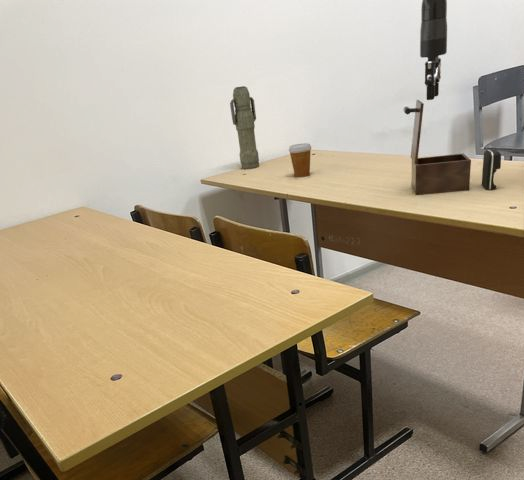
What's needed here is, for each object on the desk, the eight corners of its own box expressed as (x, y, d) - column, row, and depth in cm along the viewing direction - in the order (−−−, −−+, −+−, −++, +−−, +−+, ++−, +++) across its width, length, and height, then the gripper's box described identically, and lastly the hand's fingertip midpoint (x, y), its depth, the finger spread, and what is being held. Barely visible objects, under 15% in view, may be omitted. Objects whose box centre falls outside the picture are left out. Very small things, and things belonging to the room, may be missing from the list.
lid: (418, 100, 170) (403, 100, 171) (423, 103, 160) (406, 103, 161) (412, 157, 179) (397, 157, 180) (417, 164, 169) (401, 164, 170)
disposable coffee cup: (301, 172, 230) (299, 143, 224) (318, 173, 223) (316, 143, 217) (286, 177, 224) (283, 147, 218) (303, 178, 218) (300, 147, 212)
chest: (462, 182, 181) (463, 153, 176) (469, 190, 171) (471, 160, 166) (411, 186, 184) (411, 158, 179) (415, 195, 174) (415, 165, 169)
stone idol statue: (265, 165, 255) (256, 84, 238) (246, 170, 249) (235, 88, 232) (254, 164, 261) (244, 85, 244) (235, 169, 255) (224, 89, 238)
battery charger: (499, 189, 167) (503, 151, 162) (487, 190, 168) (490, 153, 162) (493, 184, 173) (496, 147, 168) (480, 185, 174) (483, 149, 168)
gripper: (443, 36, 148) (442, 99, 156) (450, 34, 159) (448, 94, 167) (416, 40, 152) (416, 102, 159) (424, 38, 162) (423, 96, 170)
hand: (432, 98), depth 163 cm, fingers open, 8 cm apart
